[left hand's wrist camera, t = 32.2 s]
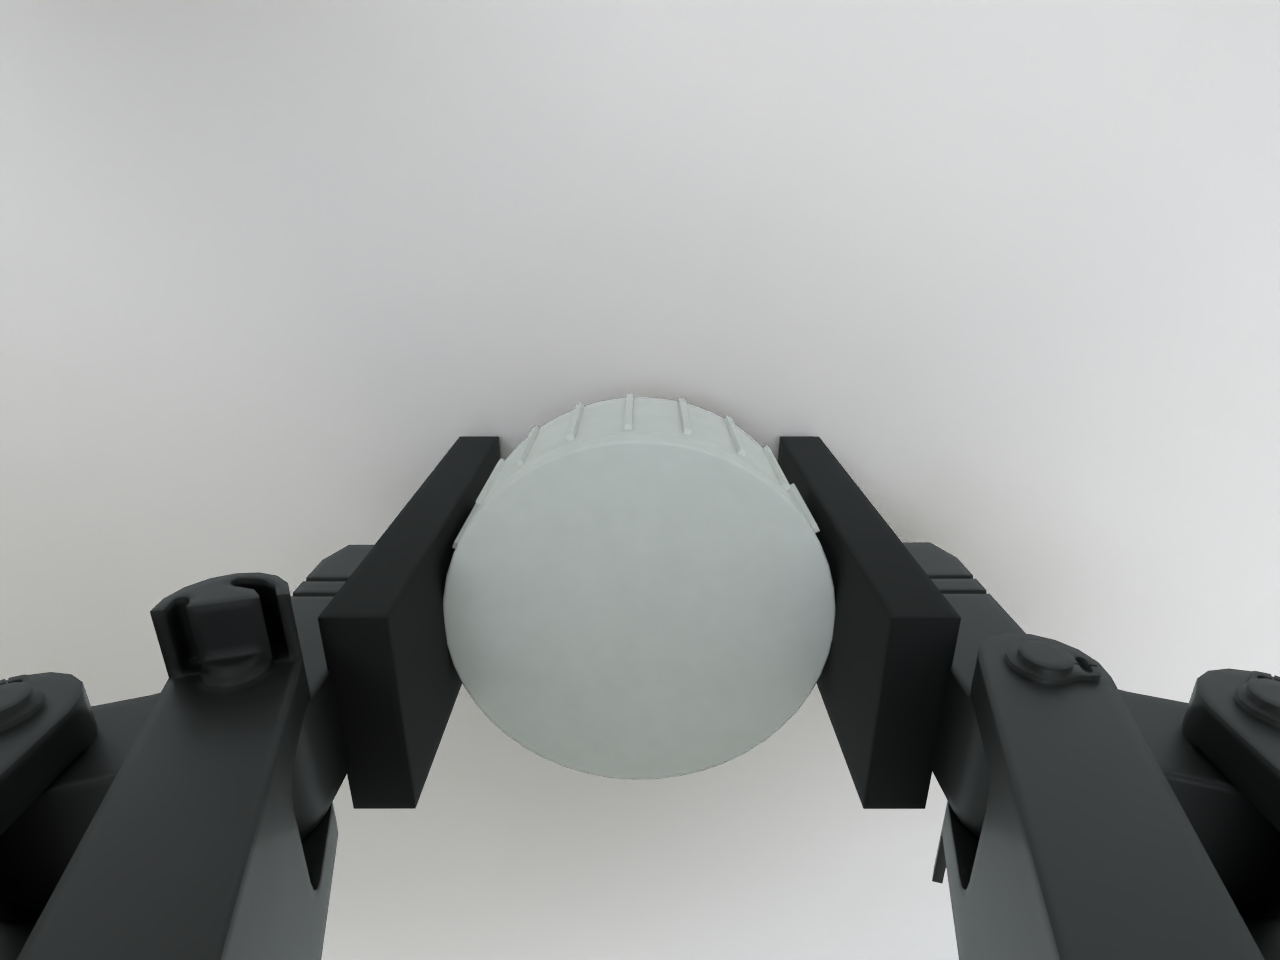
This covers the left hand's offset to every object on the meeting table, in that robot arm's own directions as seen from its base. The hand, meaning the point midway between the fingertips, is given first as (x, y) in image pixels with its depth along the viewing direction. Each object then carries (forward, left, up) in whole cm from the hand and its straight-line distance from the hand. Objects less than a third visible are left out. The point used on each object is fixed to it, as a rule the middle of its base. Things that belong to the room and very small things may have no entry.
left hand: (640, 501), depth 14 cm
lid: (0, 0, +4) cm, 4 cm away
